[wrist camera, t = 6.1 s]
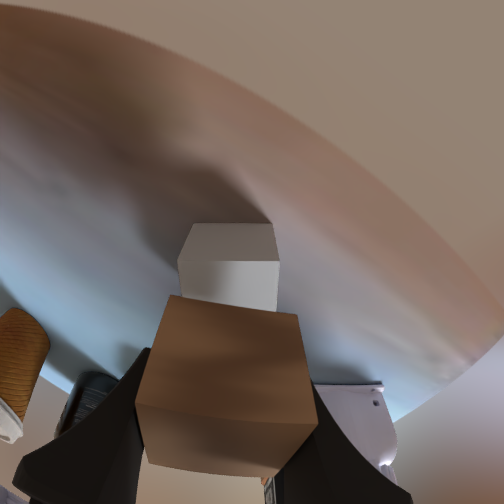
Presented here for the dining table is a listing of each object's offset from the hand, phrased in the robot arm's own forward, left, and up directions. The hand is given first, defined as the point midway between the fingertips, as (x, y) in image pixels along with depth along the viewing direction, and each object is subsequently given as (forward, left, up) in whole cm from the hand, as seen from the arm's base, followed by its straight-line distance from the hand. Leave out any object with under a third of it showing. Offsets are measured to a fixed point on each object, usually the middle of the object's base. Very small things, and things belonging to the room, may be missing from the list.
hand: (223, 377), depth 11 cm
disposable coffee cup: (+21, +13, -10) cm, 26 cm away
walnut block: (0, 0, -2) cm, 2 cm away
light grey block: (0, 0, -10) cm, 10 cm away
